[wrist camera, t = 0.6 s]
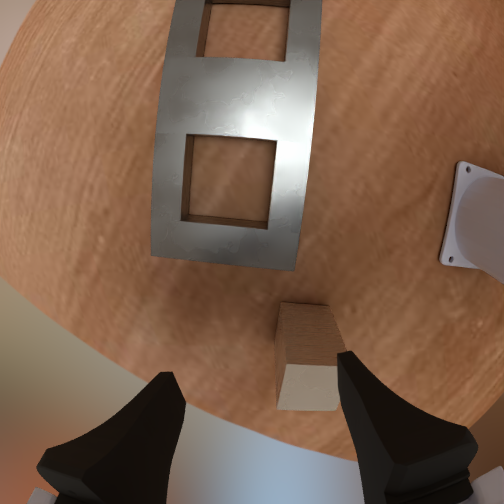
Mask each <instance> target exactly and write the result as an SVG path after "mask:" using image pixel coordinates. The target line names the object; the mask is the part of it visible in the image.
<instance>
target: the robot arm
mask: <svg viewBox="0 0 504 504" xmlns="http://www.w3.org/2000/svg"><path fill="white" fill-rule="evenodd" d="M467 167H468V172H467V171H466V168H467ZM450 257H451V260H450V261H449V258H450ZM439 260H440V262H441V263H442V264H444V265H449V266H458V267H466V268H474V269H481V270H483V271H484V272H486V273H487V274H489V275H490V276H492V277H493V278H495V279H496V280H498V281H499V282H501V283H502V284H504V176H502V175H499V174H497V173H494V172H492V171H489V170H486V169H484V168H481V167H478V166H476V165H473V164H470V163H467V162H464V161H460V162H458V164H457V167H456V175H455V182H454V189H453V195H452V201H451V207H450V212H449V218H448V223H447V227H446V232H445V237H444V241H443V245H442V249H441V253H440V258H439ZM337 377H338V391H339V396H340V401H341V406H342V409H343V412H344V415H345V418H346V421H347V424H348V427H349V430H350V433H351V436H352V440H353V443H354V446H355V449H356V453H357V458H358V463H359V469H360V475H361V481H362V487H363V494H364V502H365V504H504V470H503V468H502V467H501V466H498V467H496V468H495V469H493V470H491V471H489V472H488V473H486V474H484V475H482V476H480V477H479V478H477V479H475V480H474V481H473V482H471V483H470V482H469V479H468V477H469V476H470V473H469V470H468V468H467V467H468V466H469V464H470V463H471V461H472V460H473V458H474V457H475V454H476V453H477V451H478V444H477V442H476V440H475V439H474V437H473V435H472V434H471V432H470V431H469V430H468V429H467V427H465V426H462V425H458V424H455V423H451V422H448V421H445V420H442V419H440V418H437V417H435V416H433V415H430V414H428V413H426V412H424V411H422V410H420V409H419V408H417V407H415V406H413V405H412V404H410V403H408V402H407V401H405V400H404V399H402V398H401V397H399V396H398V395H397V394H395V393H394V392H393V391H391V390H390V389H389V388H388V387H387V386H385V385H384V384H383V383H382V382H381V381H380V380H379V379H378V378H377V377H376V376H375V375H373V374H372V373H371V372H370V371H369V370H368V369H367V367H366V366H365V365H364V364H363V363H362V362H361V361H360V360H359V359H358V357H357V356H356V355H355V354H354V353H353V352H352V351H346V352H341V353H337ZM185 407H186V401H185V399H184V397H183V395H182V392H181V390H180V388H179V386H178V383H177V381H176V379H175V376H174V374H173V372H160V373H159V374H158V375H157V376H156V377H155V378H154V379H152V380H151V381H150V382H149V384H148V385H147V386H146V387H145V388H144V389H143V390H141V391H140V393H138V394H137V396H135V397H134V398H133V399H132V400H131V401H130V402H129V403H128V404H127V405H126V406H124V407H123V408H122V409H121V410H120V411H119V412H117V413H116V414H115V415H114V416H112V417H111V418H110V419H108V420H107V421H106V422H104V423H103V424H101V425H100V426H98V427H96V428H95V429H93V430H91V431H89V432H88V433H86V434H84V435H82V436H80V437H78V438H76V439H74V440H71V441H69V442H67V443H64V444H61V445H58V446H55V447H52V448H48V449H47V450H46V451H45V453H44V455H43V456H42V458H41V460H40V462H39V463H38V465H37V471H38V472H39V474H40V475H41V476H42V477H43V478H44V479H45V480H46V481H47V482H48V483H49V484H50V485H51V486H52V487H53V488H54V489H56V490H57V491H58V492H59V495H58V497H56V496H55V495H53V494H51V493H49V492H47V491H45V490H42V489H40V488H38V487H35V489H34V491H33V493H32V495H31V497H30V498H29V501H28V503H27V504H166V498H167V488H168V480H169V474H170V467H171V463H172V459H173V455H174V452H175V448H176V445H177V442H178V439H179V435H180V432H181V428H182V424H183V421H184V414H185Z"/></svg>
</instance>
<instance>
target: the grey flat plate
mask: <svg viewBox="0 0 504 504" xmlns="http://www.w3.org/2000/svg"><path fill="white" fill-rule="evenodd" d="M212 3H245V4H262V5H274V6H284V7H289V15H288V26H287V37H286V48H285V59H284V62H279V61H270V60H259V59H245V58H222V57H203V56H204V49H205V42H206V36H207V30H208V23H209V18H210V12H211V6H212ZM321 15H322V0H176V2H175V7H174V12H173V16H172V21H171V26H170V31H169V37H168V42H167V48H166V54H165V60H164V67H163V73H162V80H161V88H160V96H159V104H158V113H157V123H156V134H155V146H154V160H153V177H152V201H151V256H157V257H165V258H174V259H183V260H192V261H201V262H210V263H219V264H228V265H237V266H246V267H256V268H266V269H275V270H285V271H294V270H295V264H296V257H297V250H298V244H299V237H300V230H301V223H302V215H303V208H304V200H305V193H306V185H307V176H308V168H309V159H310V150H311V141H312V132H313V122H314V112H315V101H316V89H317V77H318V64H319V50H320V34H321ZM194 136H209V137H225V138H239V139H250V140H261V141H270V142H276V149H275V158H274V167H273V177H272V186H271V195H270V204H269V213H268V222H258V221H249V220H239V219H229V218H218V217H208V216H197V215H188V214H189V196H190V180H191V166H192V154H193V142H194Z"/></svg>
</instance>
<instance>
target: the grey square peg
mask: <svg viewBox="0 0 504 504" xmlns="http://www.w3.org/2000/svg"><path fill="white" fill-rule="evenodd" d="M274 351H275V378H276V408H277V409H279V410H304V411H336V409H337V406H338V404H339V401H340V396H339V391H338V377H337V353H341V352H346V351H347V350H346V347H345V344H344V342H343V339H342V337H341V334H340V331H339V329H338V326H337V324H336V321H335V319H334V316H333V314H332V311H331V308H330V306H322V305H309V304H297V303H286V302H281V304H280V310H279V317H278V323H277V329H276V335H275V341H274Z"/></svg>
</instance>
